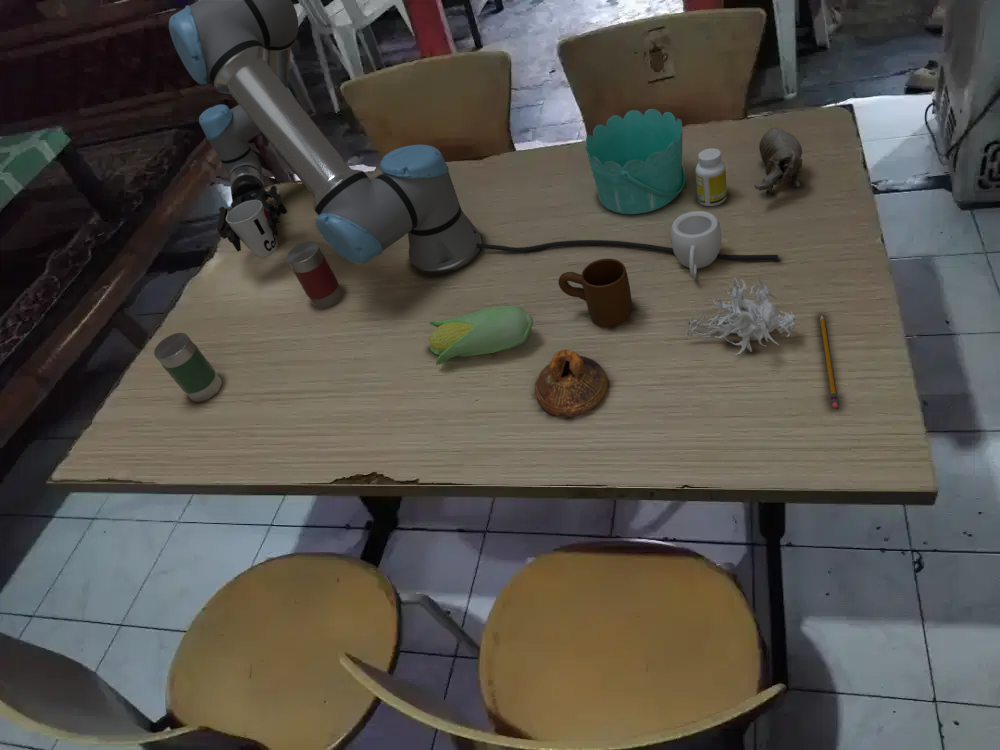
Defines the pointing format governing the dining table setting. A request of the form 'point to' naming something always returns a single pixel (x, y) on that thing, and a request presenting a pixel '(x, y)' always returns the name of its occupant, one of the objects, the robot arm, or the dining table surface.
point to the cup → (253, 227)
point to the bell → (570, 384)
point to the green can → (188, 367)
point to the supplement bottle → (711, 178)
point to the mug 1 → (602, 291)
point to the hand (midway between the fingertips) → (254, 238)
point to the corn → (480, 332)
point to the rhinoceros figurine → (779, 158)
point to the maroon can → (315, 274)
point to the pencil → (828, 363)
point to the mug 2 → (696, 239)
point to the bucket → (637, 161)
